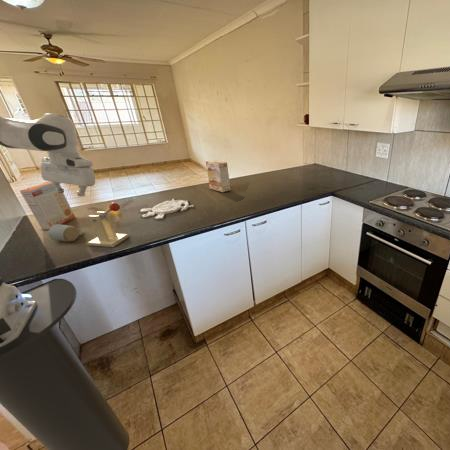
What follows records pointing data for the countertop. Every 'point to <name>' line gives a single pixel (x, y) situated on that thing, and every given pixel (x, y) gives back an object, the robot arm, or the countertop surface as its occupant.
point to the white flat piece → (166, 208)
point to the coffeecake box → (218, 175)
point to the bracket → (105, 232)
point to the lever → (112, 208)
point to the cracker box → (47, 205)
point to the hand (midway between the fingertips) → (70, 194)
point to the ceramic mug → (64, 233)
